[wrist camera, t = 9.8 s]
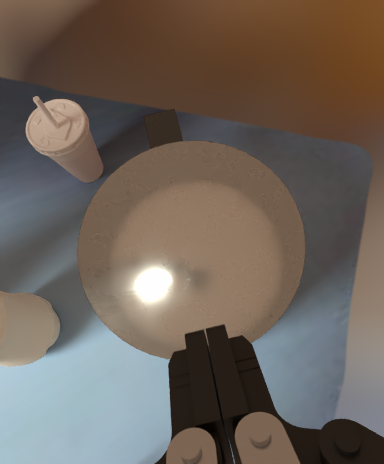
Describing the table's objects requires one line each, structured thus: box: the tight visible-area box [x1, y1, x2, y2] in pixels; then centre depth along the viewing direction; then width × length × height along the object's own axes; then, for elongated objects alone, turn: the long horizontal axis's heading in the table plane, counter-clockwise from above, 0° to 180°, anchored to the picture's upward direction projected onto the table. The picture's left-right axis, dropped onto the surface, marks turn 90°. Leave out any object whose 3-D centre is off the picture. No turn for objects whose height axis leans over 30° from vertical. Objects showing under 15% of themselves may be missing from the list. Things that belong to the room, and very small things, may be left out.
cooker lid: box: [78, 109, 305, 359], centre depth 30 cm, size 22×19×2 cm
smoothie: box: [26, 96, 103, 183], centre depth 38 cm, size 6×6×14 cm
